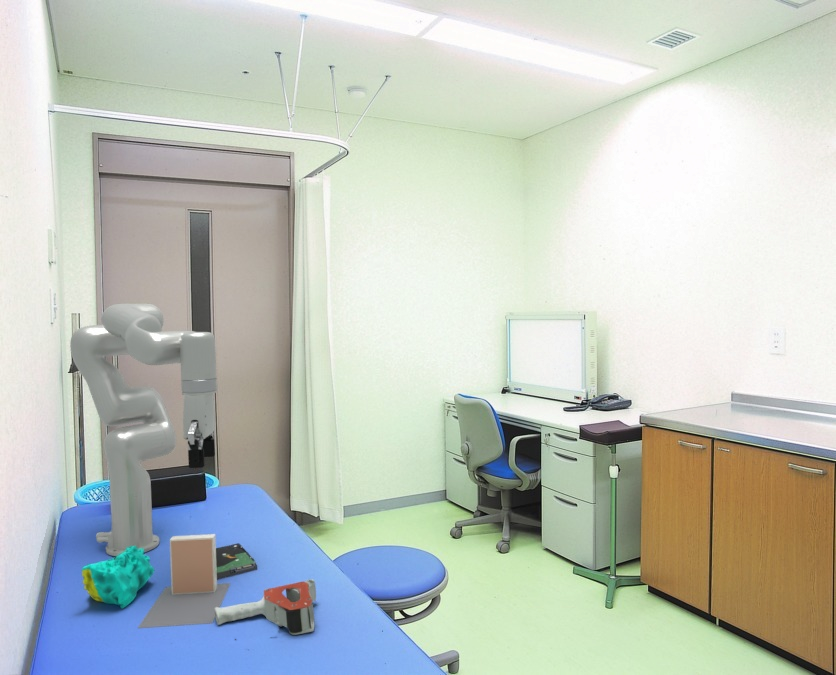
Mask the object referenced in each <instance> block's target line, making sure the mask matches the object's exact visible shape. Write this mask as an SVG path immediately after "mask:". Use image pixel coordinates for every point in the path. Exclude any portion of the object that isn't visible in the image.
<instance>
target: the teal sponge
mask: <svg viewBox="0 0 836 675" xmlns="http://www.w3.org/2000/svg"><path fill="white" fill-rule="evenodd" d="M144 553H145V552H144V549H143V548H141V549H137V547H136V545H135V546H130V547H127V548H126V551H124V552H123V553H120V554H119V555H118V556H113V558H108V559H107V560H103V561H101V560H100V561H98V562H95V563H90V564H86V565H85V566H83V567H82V568H81V572H82V574H81V576H82V578H83V580H82V584H83V585H84V590H86V591H87V594H88V595H89V596H90V597H91V598H92V599H93V600H94V601H96V602H102V603H105V604H110V605H111V604H114V605H118V606H120V609H125V607H127V606H128V605H130V604H131V603H132V602H133V601H134V599H135V598H136V597H137V592H138V591H139V590H140V589H141V588H143V587H144V586H145V585H146V584H147V582H148V581H149V579H150V578H151V577H152V575H153V574H154V572H155V569H154V567H153V566H152V564H150V559H151V558H150V556H149V555H146V554H144Z"/></svg>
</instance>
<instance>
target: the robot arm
mask: <svg viewBox="0 0 836 675" xmlns="http://www.w3.org/2000/svg"><path fill="white" fill-rule="evenodd" d="M100 320H101V324H94V325H86V326H83V327H80V328H78V329H76V330H75V331H74V332H73V334H72V335H71V336H70V343H69V344H70V347H69V348H70V353H71V357H72V360H73V362H74V365H75V366H76V368H77V370H78V371H79V373H80V375H81V376H82V377H83V379H84V380H85V382H86V385H87V386H88V389H89V393H90V395H91V398H92V401H93V403H94V407H95V409H96V412H97V415H98V417H99V419H100V421H101V422H102V423H103V425H105V426H108V427H118V426H119V428H116V429H113V430H112V431H110V432H108V433H107V435H106V436H105V437H104V440H103V451H104V455H105V460H106V464H107V465H106V466H107V469H108V478H109V497H110V516H111V519H110V520H111V530H109V532H106V531H100V532H97V533H96V535H95V540H96V542H97V543H107V545H106V546H105V553H106V554H107V555H109V556H112V557H116V556H118V555H119V554H120V553H123V552H124V551H126V548H127V547H130V546H135V545H136V547H137V549H141V548H143V549H144V553H147V552H149V551H152V550H153V549H155V548H156V547H158V546H159V544H160V536H158V535H156V534H153V513H152V512H153V510H152V508H153V507H152V485H151V484H152V483H151V476H150V474H149V472H148V471H147V470H146V469H145V468H144V467H143V465H142V464H141V462H144V461H147V460H152V459H156V458H160V457H161V458H162V457H164V456H168V455H170V454H172V453H173V452H174V450H175V449H176V445H177V436H176V431H175V428H174V425H173V423H172V421H171V419H170V416H169V413H168V411H167V408H166V406H165V403H164V402H165V401H164V400H163V398H162V395H161V394H160V393H159V392H158V391H157V390H156V389H155V388H154V387H151V386H145V385H144V386H136V387H134V386H133V387H129V386H128V385H127V384H126V381H125V379H124V375H123V374H122V372H121V371H120V370H119V368H118V367H117V366H115V364H113V363H112V362H110V361H108V360H107V359H105V357H114V356H115V357H117V356H127V355H129V356H130V357H131V358H132V359H134V360H136V361H137V362H140V363H142V364H145V365H148V366H163V365H173V364H180V382H181V384H180V385H181V386H180V387H181V396H184V399H183V407H182V408H183V409H182V410H183V411H182V416H183V417H182V437H183V439H184V440H186V441H187V453H188V455H187V456H188V457H187V458H188V459H187V460H188V468H189V469H198V468H199V469H200V468H201V469H202V468H204V467H205V458H210V457H211V458H212V457H214V456H215V455H216V453H215V450H216V449H215V434H214V431H215V430H216V429H215V428H216V414H215V401H214V400H215V399H214V394H216V393H218V380H217V354H216V352H217V351H216V338H215V335H214V334H213V333H212V332H210V331H209V332H208V331H194V330H168V331H166V330H165V331H162V330H163V326H164V315H163V312H162V311H161V309H160V308H159V307H158V306H157V305H155V304H152V303H145V302H144V303H141V302H140V303H136V302H135V303H131V302H130V303H126V302H125V303H115V304H112V305H110V306H108V307H107V308H105V309H104V311H103V313H102V314H101V318H100ZM136 423H138V424H136ZM131 424H132V425H131ZM126 425H128V426H126ZM120 426H121V427H120Z"/></svg>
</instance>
